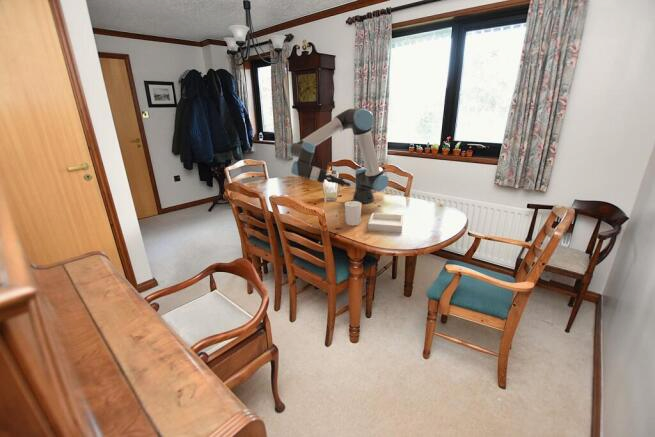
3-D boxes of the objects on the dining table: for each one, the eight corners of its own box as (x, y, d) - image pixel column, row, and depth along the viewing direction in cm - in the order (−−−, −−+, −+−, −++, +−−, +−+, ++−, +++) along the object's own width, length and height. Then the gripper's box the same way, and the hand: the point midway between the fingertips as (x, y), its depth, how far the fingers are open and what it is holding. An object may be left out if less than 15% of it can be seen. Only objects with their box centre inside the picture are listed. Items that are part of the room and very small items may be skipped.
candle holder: (360, 226, 175) (360, 206, 171) (343, 225, 177) (343, 205, 173) (362, 220, 184) (362, 201, 180) (345, 219, 186) (345, 200, 182)
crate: (372, 218, 186) (372, 212, 184) (402, 221, 181) (403, 214, 180) (367, 230, 170) (368, 223, 168) (401, 232, 165) (401, 226, 164)
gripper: (316, 180, 188) (350, 189, 190) (316, 182, 164) (354, 194, 165) (320, 168, 187) (353, 178, 189) (320, 169, 162) (358, 180, 164)
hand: (354, 185), depth 177 cm, fingers open, 13 cm apart
